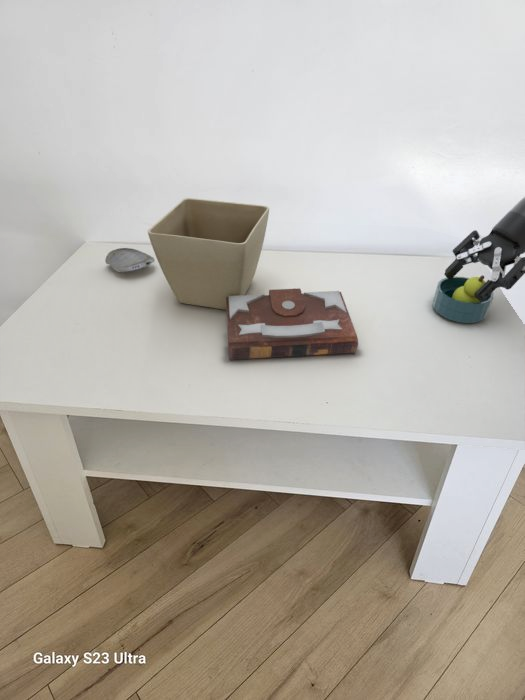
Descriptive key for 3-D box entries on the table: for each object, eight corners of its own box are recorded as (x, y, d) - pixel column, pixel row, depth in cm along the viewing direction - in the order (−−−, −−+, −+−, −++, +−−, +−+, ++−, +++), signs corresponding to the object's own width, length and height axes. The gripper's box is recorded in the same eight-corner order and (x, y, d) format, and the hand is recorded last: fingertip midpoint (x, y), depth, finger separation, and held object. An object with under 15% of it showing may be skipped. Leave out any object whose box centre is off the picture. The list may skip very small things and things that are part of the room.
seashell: (97, 276, 105) (93, 256, 102) (114, 259, 112) (110, 240, 109) (146, 281, 104) (143, 261, 100) (160, 264, 110) (157, 245, 107)
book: (229, 364, 82) (228, 344, 79) (226, 310, 94) (225, 290, 90) (355, 357, 84) (359, 337, 81) (337, 305, 95) (340, 285, 92)
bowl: (493, 309, 95) (501, 288, 92) (473, 332, 89) (481, 310, 86) (445, 291, 101) (451, 271, 98) (422, 311, 95) (428, 290, 92)
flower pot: (191, 266, 109) (184, 196, 99) (269, 276, 106) (270, 205, 95) (157, 309, 95) (145, 232, 84) (246, 323, 91) (244, 244, 81)
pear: (477, 308, 95) (502, 277, 88) (464, 322, 93) (489, 291, 85) (455, 293, 97) (477, 261, 89) (442, 306, 94) (464, 274, 87)
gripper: (491, 198, 90) (430, 261, 94) (552, 226, 80) (481, 296, 83) (502, 220, 95) (444, 279, 99) (562, 249, 85) (494, 314, 88)
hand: (461, 287), depth 91 cm, fingers open, 8 cm apart
